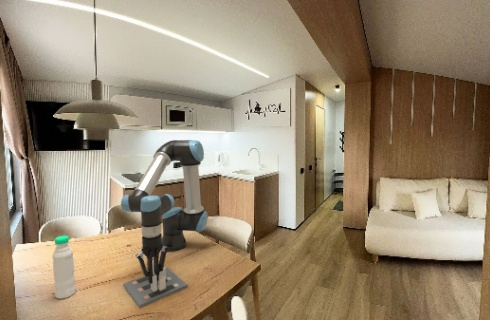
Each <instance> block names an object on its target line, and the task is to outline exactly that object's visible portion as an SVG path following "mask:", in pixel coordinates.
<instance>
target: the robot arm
mask: <svg viewBox="0 0 490 320" xmlns="http://www.w3.org/2000/svg"><path fill="white" fill-rule="evenodd" d="M204 155H205V150H204V148H203V144H202V143H201V142H200V141H199V140H195V139H194V140H193V139H180V140H179V139H178V140H177V139H173V140H169V141H167V142H164V144H162V145H160V147H158V149H156V151H155V153H154V154H153V156H152V157H153V159H152V161H151V163H150V165H148V167H147V169H146V171H145V172H144V174H143V176H142V177H141V178H140V180H139V182H138V183H137V185H136V186H135V188H134V190H133V191H132V193H131V194H125V195H124V196H123V197H122V198H121V200H120V207H121V209H122V211H124V212H127V213H140V218H141V235H142V236H141V243H142V244H141V245H142V247H141V250H140V252H139V253H137V254H136V255H135V258H136V259H138V262H139V265H140V268H141V271H142V274H143V275H144V276H146V277H148V282H149V283H150V284H151V289H152V291H153V292H154V291H157V281H158V280H159V274H160V273H159V272H161V271H163V268H164V267H165V263H166V257H167V253H168V252H176V251H181V250H183V249H185V247H186V246H187V240H186V237H185V235H184V232H185V231H186V232H203V231H204V230H205V229H206V226H207V222H208V217H209V216H208V212H207V211H206V210H205V209H204V206H203V205H202V203H201V201H202V199H201V188H200V187H201V186H200V184H201V183H200V173H199V172H200V171H199V170H200V169H199V166H200V165H201V164H202V162H203V161H204V158H205V156H204ZM172 162H179V166H180V167H182V172H183V184H184V185H183V186H184V187H183V188H184V198H185V208H183V207H181V206H177V207H176V206H175V203H176V202H175V198H174V197H173V196H172V195H171V194H169V193H165V194H161V195H152V193H153V192H154V190H155V188H156V186H157V184H158V183H159V180H160V179H161V177H162V175H163V174H164V171H165V170H166V167H168V166H169V165H170V164H171V163H172ZM144 256H145V257H146V263H145V259H144ZM152 263H154V273H153V265H152ZM146 265H147V266H146Z"/></svg>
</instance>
